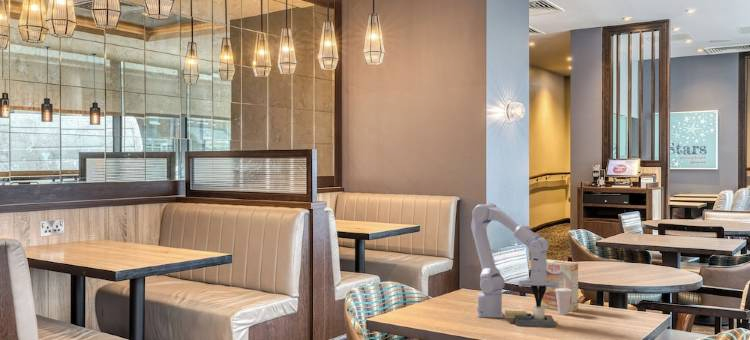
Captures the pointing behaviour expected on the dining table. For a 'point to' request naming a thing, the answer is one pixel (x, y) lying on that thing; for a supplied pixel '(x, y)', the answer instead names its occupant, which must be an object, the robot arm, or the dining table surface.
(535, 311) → the white capsule cylinder
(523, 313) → the shunt bar
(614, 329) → the dining table surface
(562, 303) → the smoothie
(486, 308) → the robot arm
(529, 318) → the jig
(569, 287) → the coffeecake box
